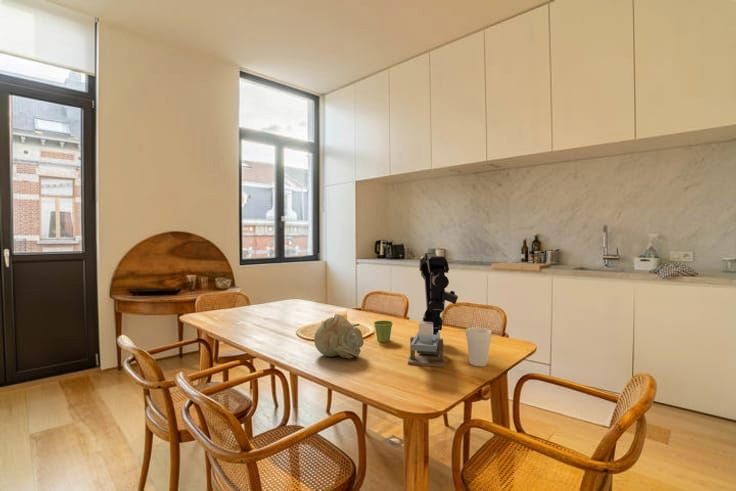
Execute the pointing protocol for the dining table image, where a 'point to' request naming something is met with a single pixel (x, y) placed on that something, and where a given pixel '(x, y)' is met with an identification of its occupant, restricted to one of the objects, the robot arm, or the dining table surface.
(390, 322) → the plant pot
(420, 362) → the seesaw stand
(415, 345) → the beam
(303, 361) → the dining table surface
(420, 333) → the white block
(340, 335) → the sculpture
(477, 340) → the foam cup
